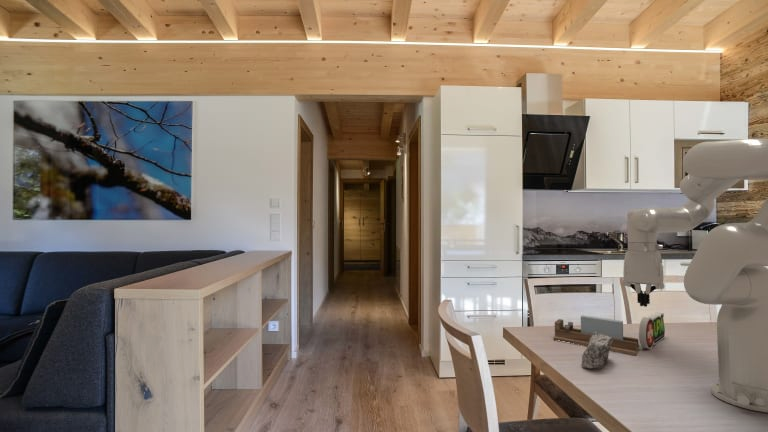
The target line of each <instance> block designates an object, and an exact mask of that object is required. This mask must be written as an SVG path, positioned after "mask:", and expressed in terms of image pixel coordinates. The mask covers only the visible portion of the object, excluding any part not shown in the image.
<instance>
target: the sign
mask: <svg viewBox="0 0 768 432" xmlns="http://www.w3.org/2000/svg"><path fill="white" fill-rule="evenodd" d="M664 318H665V314H664V313H663V312H659V311H658V312H655V313H654V314H650V315H649V316H647V317H645V316H643V317H642V318H641V321H640V322H639V326H638V327H639V329H638V342H639V346H641V348H643V349H647V350H651V349H652V348H653V346H656V345H657V344H659V342H661V341H662V340H664V339H665V333H666V330H665V329H666V328H665V321H664Z"/></svg>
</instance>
